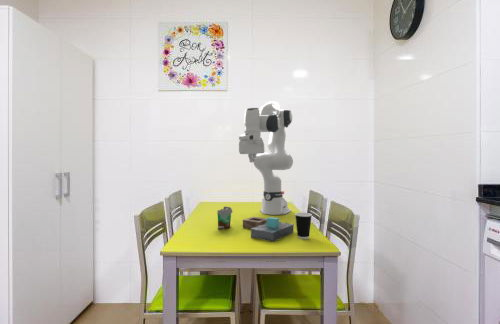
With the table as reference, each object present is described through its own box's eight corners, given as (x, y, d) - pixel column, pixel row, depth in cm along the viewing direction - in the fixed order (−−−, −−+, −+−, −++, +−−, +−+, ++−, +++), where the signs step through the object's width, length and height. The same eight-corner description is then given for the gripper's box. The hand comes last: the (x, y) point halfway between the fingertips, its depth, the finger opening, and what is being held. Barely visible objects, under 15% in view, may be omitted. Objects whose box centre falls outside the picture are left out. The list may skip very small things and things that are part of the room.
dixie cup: (292, 235, 147) (292, 212, 147) (307, 234, 149) (307, 212, 149) (298, 240, 139) (299, 216, 139) (314, 239, 141) (315, 215, 141)
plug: (269, 233, 152) (270, 217, 151) (278, 234, 149) (279, 218, 148) (266, 234, 149) (266, 218, 149) (275, 236, 146) (276, 219, 146)
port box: (272, 228, 160) (272, 220, 160) (293, 232, 154) (293, 223, 154) (250, 237, 144) (250, 227, 144) (273, 241, 137) (273, 231, 137)
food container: (228, 230, 156) (228, 211, 155) (217, 230, 157) (217, 210, 157) (234, 225, 168) (235, 206, 167) (224, 224, 169) (224, 206, 169)
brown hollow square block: (253, 223, 171) (253, 216, 171) (268, 226, 165) (268, 219, 165) (242, 227, 163) (242, 219, 162) (258, 230, 157) (258, 222, 157)
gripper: (257, 137, 180) (257, 161, 181) (236, 136, 163) (236, 162, 164) (267, 137, 176) (267, 162, 177) (246, 136, 160) (246, 163, 160)
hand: (252, 162), depth 170 cm, fingers closed
